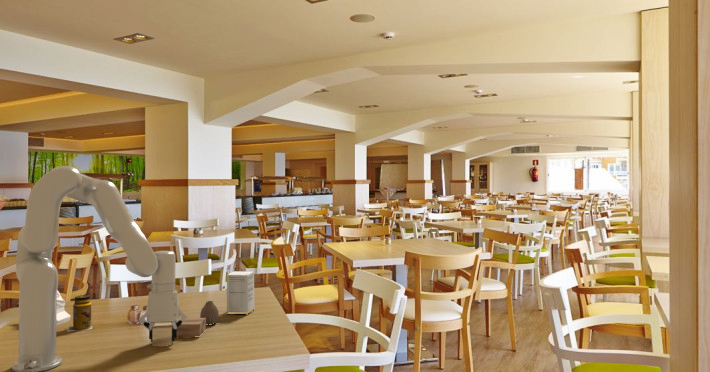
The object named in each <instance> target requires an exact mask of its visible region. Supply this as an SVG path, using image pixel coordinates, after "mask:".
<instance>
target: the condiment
mask: <svg viewBox="0 0 710 372" xmlns="http://www.w3.org/2000/svg"><path fill="white" fill-rule="evenodd" d="M73 300H74V304H73V305H72V308H73V310H72V312H73V313H72V325H71V326H66V327H65V330H66V332H67V333H70V332H76V331H87V330H93V329H94V327H93V326H92V302H91V296H90V295H89V294H81V295H76V296H75V297H74V299H73Z"/></svg>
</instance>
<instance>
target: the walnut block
mask: <svg viewBox="0 0 710 372" xmlns="http://www.w3.org/2000/svg"><path fill="white" fill-rule="evenodd" d="M178 321H179V320H177V322H178ZM205 329H206V330H207V325H206V318H200V317H187V319H186V320H185V321H184V322H183V323H182V324H181V325H180V326H179V327H178V328H177V337H195V336H200V335H201V334H202V333H203V332H204V330H205ZM204 333H205V332H204Z"/></svg>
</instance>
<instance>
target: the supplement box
mask: <svg viewBox="0 0 710 372" xmlns="http://www.w3.org/2000/svg"><path fill="white" fill-rule="evenodd" d="M253 308H254V309H255V271H239V270H237V271H235V270H234V271H232V272H230V273H228V274H226V313H227V312H249V311H250V310H252V309H253Z"/></svg>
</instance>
